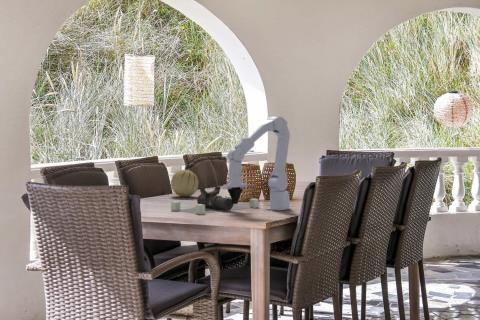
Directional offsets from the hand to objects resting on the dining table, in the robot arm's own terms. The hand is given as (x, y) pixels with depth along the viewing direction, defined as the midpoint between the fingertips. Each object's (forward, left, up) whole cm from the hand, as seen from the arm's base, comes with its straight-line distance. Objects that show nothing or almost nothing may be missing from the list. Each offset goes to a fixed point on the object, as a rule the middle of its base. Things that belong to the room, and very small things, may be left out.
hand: (235, 203), depth 380 cm
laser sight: (0, -13, -4) cm, 13 cm away
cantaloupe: (-27, -61, -4) cm, 67 cm away
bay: (0, -12, -3) cm, 13 cm away
